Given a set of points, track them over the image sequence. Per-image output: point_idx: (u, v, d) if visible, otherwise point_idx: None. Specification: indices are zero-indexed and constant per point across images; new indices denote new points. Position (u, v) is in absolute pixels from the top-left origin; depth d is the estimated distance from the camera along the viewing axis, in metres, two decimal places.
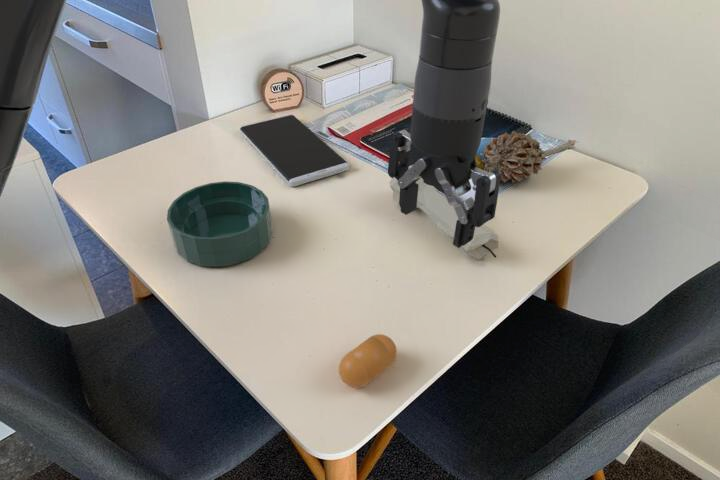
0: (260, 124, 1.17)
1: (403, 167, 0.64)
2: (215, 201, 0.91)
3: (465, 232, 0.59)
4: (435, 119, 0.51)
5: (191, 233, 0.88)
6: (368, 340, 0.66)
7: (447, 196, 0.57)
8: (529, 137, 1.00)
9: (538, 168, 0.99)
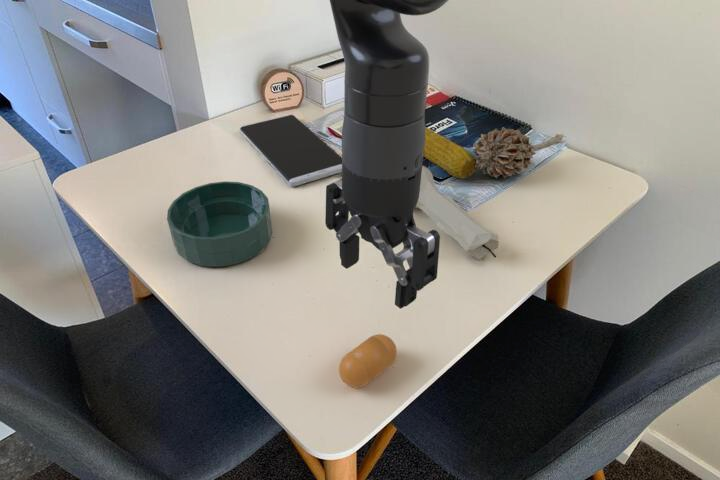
0: (260, 124, 1.17)
1: (342, 218, 0.58)
2: (215, 201, 0.91)
3: (406, 293, 0.54)
4: (364, 178, 0.46)
5: (191, 233, 0.88)
6: (368, 340, 0.66)
7: (384, 256, 0.52)
8: (518, 133, 1.01)
9: (528, 163, 1.01)
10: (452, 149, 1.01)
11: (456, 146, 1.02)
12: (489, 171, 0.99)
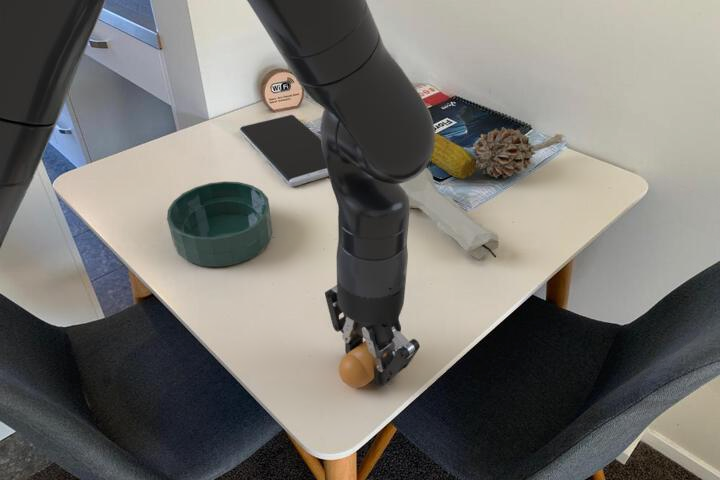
0: (260, 124, 1.17)
1: None
2: (215, 201, 0.91)
3: (383, 376, 0.63)
4: (355, 296, 0.54)
5: (191, 233, 0.88)
6: None
7: (369, 348, 0.60)
8: (518, 133, 1.01)
9: (528, 163, 1.01)
10: (452, 149, 1.01)
11: (456, 146, 1.02)
12: (489, 171, 0.99)
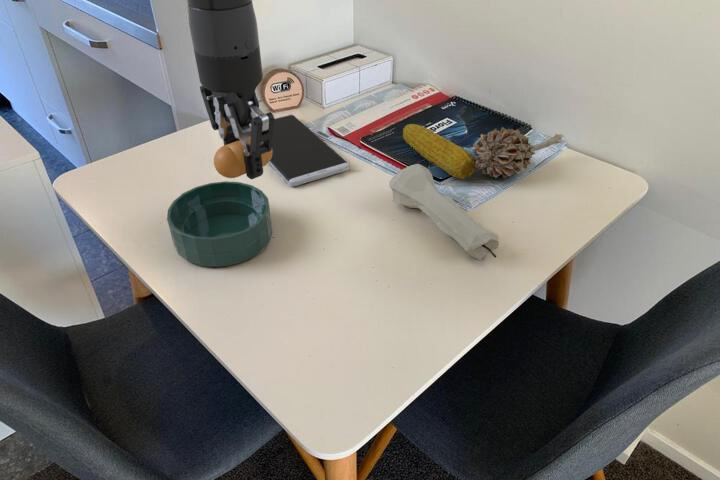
0: None
1: None
2: (215, 201, 0.91)
3: (252, 164, 0.68)
4: (205, 56, 0.58)
5: (191, 233, 0.88)
6: None
7: (233, 130, 0.65)
8: (518, 133, 1.01)
9: (528, 163, 1.01)
10: (452, 149, 1.01)
11: (456, 146, 1.02)
12: (489, 171, 0.99)
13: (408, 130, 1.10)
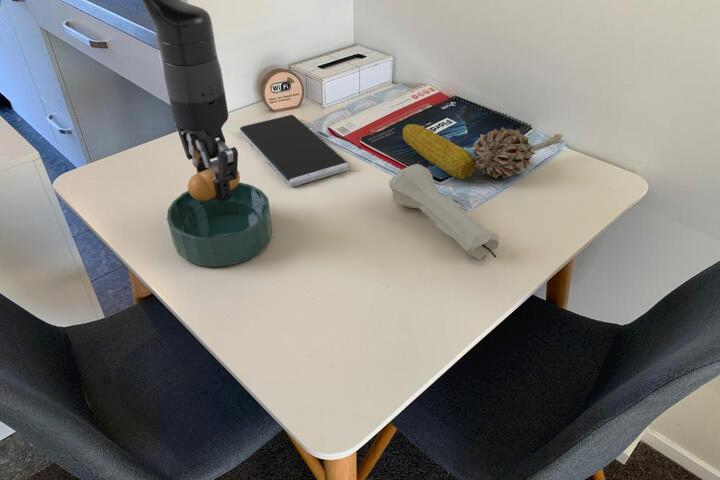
0: (260, 124, 1.17)
1: None
2: (215, 201, 0.91)
3: (220, 189, 0.79)
4: (177, 102, 0.69)
5: (191, 233, 0.88)
6: None
7: (204, 161, 0.76)
8: (518, 133, 1.01)
9: (528, 163, 1.01)
10: (451, 149, 1.01)
11: (455, 146, 1.02)
12: (489, 171, 0.99)
13: (408, 130, 1.10)
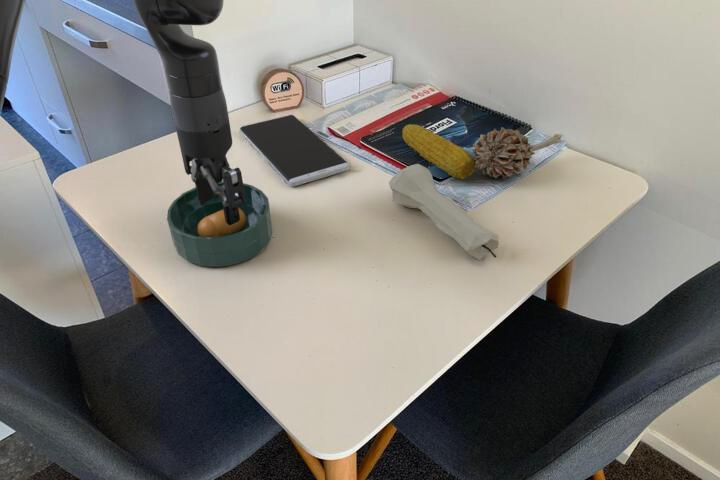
0: (260, 124, 1.17)
1: None
2: (215, 201, 0.91)
3: (229, 213, 0.80)
4: (184, 131, 0.72)
5: (191, 233, 0.88)
6: None
7: (211, 186, 0.78)
8: (517, 133, 1.01)
9: (528, 163, 1.01)
10: (451, 150, 1.01)
11: (455, 147, 1.02)
12: (489, 171, 0.99)
13: (407, 130, 1.10)
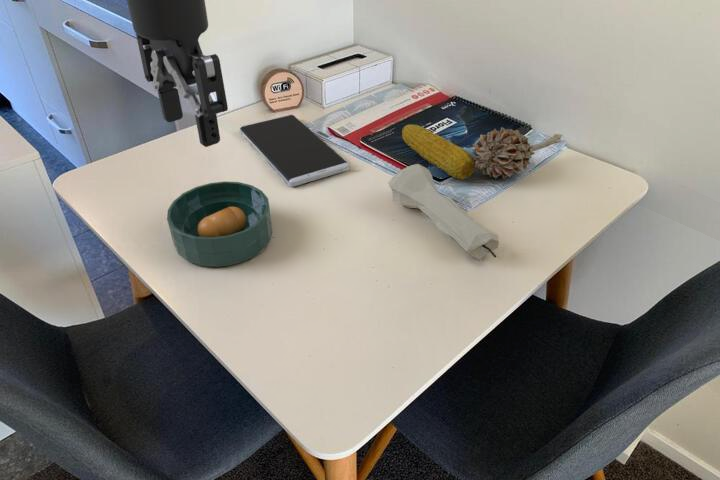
0: (260, 124, 1.17)
1: None
2: (215, 201, 0.91)
3: (205, 127, 0.57)
4: None
5: (191, 233, 0.88)
6: None
7: (179, 87, 0.56)
8: (517, 133, 1.01)
9: (527, 163, 1.01)
10: (451, 150, 1.01)
11: (455, 147, 1.02)
12: (489, 171, 0.99)
13: (407, 130, 1.10)
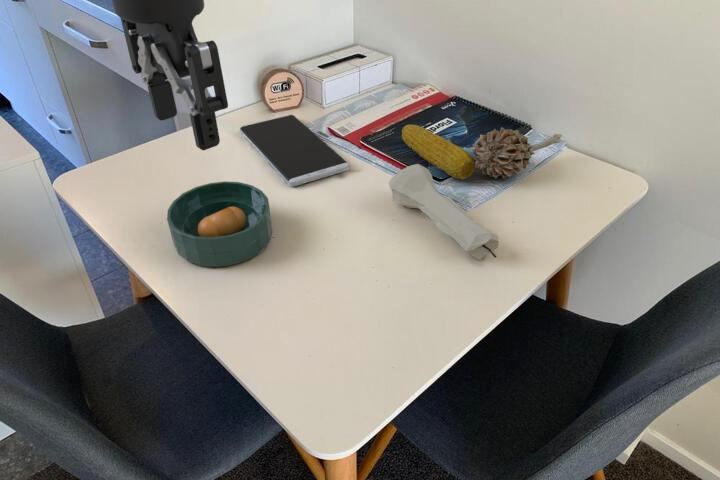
0: (260, 124, 1.17)
1: None
2: (215, 201, 0.91)
3: (202, 128, 0.49)
4: None
5: (191, 233, 0.88)
6: (223, 209, 0.86)
7: (170, 80, 0.47)
8: (517, 133, 1.01)
9: (527, 163, 1.01)
10: (451, 150, 1.01)
11: (455, 147, 1.01)
12: (488, 172, 0.99)
13: (407, 131, 1.10)
